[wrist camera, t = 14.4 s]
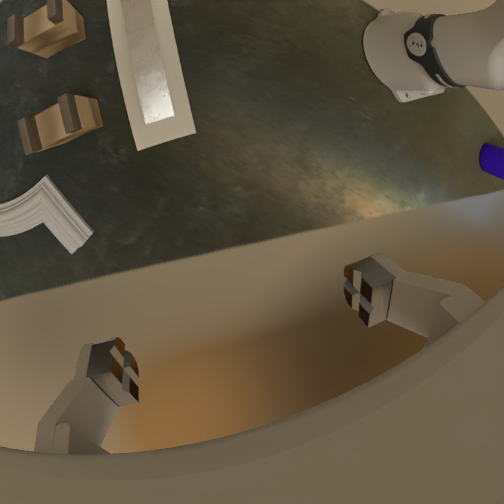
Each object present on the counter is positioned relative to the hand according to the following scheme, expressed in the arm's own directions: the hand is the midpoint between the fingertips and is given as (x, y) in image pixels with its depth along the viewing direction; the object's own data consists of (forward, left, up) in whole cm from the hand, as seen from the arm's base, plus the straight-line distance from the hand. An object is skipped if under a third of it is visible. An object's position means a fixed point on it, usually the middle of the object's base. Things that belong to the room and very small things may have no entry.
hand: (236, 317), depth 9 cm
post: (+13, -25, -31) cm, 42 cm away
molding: (+36, -4, -32) cm, 48 cm away
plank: (+2, -18, -31) cm, 36 cm away
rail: (+2, -18, -30) cm, 35 cm away
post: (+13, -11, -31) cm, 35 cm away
